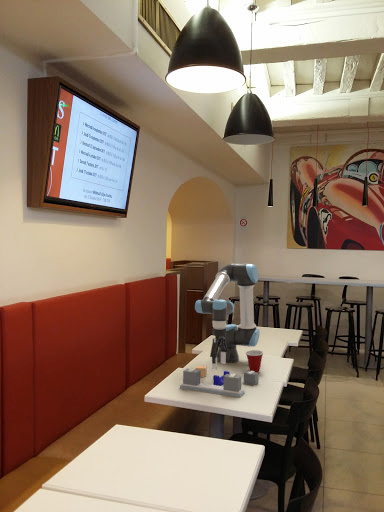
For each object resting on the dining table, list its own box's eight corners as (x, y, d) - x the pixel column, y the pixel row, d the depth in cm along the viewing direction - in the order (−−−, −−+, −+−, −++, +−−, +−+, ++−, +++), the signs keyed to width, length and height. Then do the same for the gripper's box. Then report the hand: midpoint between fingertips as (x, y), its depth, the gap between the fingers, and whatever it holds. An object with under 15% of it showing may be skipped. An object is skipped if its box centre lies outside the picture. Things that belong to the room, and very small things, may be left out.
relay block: (247, 381, 257) (247, 370, 257) (258, 383, 253) (258, 372, 253) (243, 383, 253) (243, 371, 253) (254, 385, 249) (255, 374, 249)
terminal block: (196, 374, 270) (196, 365, 270) (206, 374, 269) (206, 366, 269) (195, 376, 266) (195, 367, 265) (205, 377, 265) (205, 368, 264)
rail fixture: (185, 384, 250) (185, 367, 249) (244, 393, 236) (244, 374, 235) (179, 388, 244) (180, 370, 243) (240, 397, 230) (240, 378, 229)
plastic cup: (241, 370, 279) (242, 350, 278) (256, 368, 283) (257, 349, 283) (251, 375, 269) (251, 354, 268) (266, 372, 273) (267, 353, 273)
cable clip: (222, 380, 258) (222, 370, 258) (229, 382, 255) (229, 371, 255) (211, 386, 248) (211, 375, 248) (218, 387, 246) (218, 376, 245)
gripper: (220, 324, 264) (220, 360, 265) (204, 331, 241) (203, 370, 242) (233, 325, 261) (232, 362, 261) (217, 332, 238) (217, 372, 239)
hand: (218, 366), depth 252 cm, fingers open, 13 cm apart
